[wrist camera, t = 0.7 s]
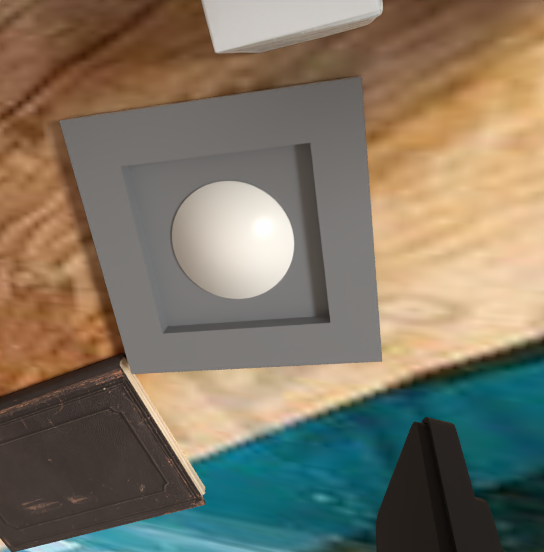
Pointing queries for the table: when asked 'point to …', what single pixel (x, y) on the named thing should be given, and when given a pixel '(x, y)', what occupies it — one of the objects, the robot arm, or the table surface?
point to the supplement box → (282, 21)
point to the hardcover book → (87, 458)
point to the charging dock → (234, 227)
